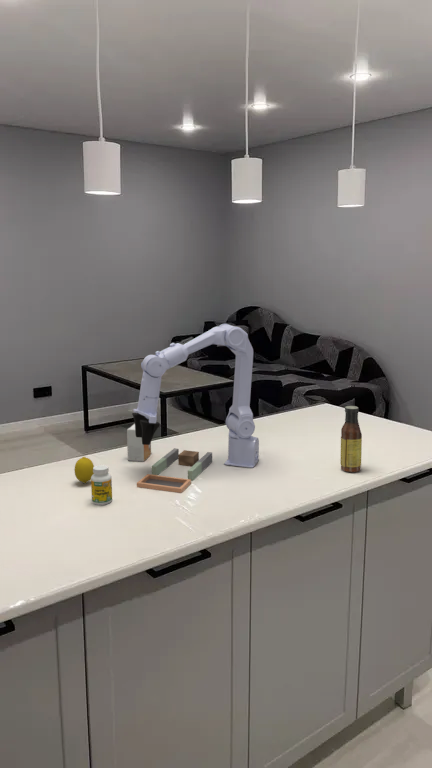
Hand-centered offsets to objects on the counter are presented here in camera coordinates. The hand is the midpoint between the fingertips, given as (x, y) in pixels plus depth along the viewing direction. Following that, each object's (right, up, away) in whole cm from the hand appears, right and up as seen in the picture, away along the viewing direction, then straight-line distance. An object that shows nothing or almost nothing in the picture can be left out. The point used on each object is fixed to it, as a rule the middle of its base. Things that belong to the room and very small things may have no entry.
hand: (142, 440), depth 179 cm
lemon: (-16, -12, -5) cm, 21 cm away
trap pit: (+7, -12, -6) cm, 15 cm away
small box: (-3, -7, +18) cm, 19 cm away
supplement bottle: (-9, -15, -18) cm, 25 cm away
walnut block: (+13, -9, +12) cm, 20 cm away
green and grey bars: (+12, -9, +8) cm, 17 cm away
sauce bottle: (+63, -10, +8) cm, 64 cm away
